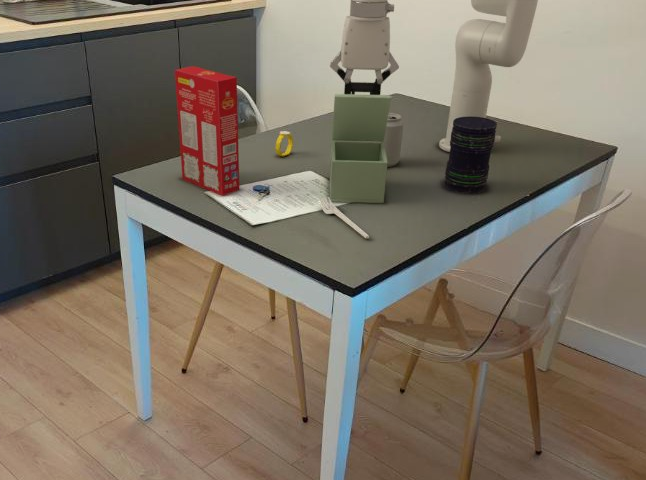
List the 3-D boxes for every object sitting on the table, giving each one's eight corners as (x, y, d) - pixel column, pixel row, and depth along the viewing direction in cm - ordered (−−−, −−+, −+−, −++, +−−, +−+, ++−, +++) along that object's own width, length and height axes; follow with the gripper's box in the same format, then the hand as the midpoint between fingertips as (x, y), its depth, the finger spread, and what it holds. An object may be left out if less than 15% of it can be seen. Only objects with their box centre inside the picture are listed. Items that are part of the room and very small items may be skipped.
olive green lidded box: (383, 203, 158) (387, 162, 152) (329, 201, 158) (331, 161, 153) (379, 180, 169) (383, 142, 164) (329, 179, 170) (331, 141, 164)
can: (398, 168, 176) (403, 120, 169) (368, 166, 177) (372, 118, 170) (400, 159, 182) (405, 112, 175) (371, 157, 183) (375, 110, 177)
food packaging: (239, 189, 164) (236, 77, 150) (222, 195, 161) (217, 81, 146) (199, 173, 172) (193, 66, 158) (182, 179, 169) (174, 69, 155)
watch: (281, 159, 182) (282, 136, 178) (273, 157, 183) (273, 134, 179) (295, 153, 186) (295, 130, 182) (286, 151, 187) (287, 128, 183)
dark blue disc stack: (435, 182, 169) (444, 118, 160) (469, 176, 172) (479, 114, 163) (459, 196, 161) (470, 131, 153) (494, 190, 164) (506, 126, 156)
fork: (360, 241, 141) (361, 232, 140) (316, 206, 156) (316, 198, 155) (374, 238, 142) (375, 230, 141) (329, 203, 157) (329, 195, 156)
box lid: (391, 98, 149) (391, 77, 151) (334, 96, 150) (335, 75, 152) (383, 141, 163) (383, 122, 165) (331, 140, 164) (332, 120, 166)
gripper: (408, 8, 147) (399, 98, 157) (327, 6, 148) (323, 96, 158) (411, 14, 141) (401, 107, 151) (326, 12, 141) (322, 104, 152)
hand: (361, 100), depth 154 cm, fingers closed on box lid, 5 cm apart
